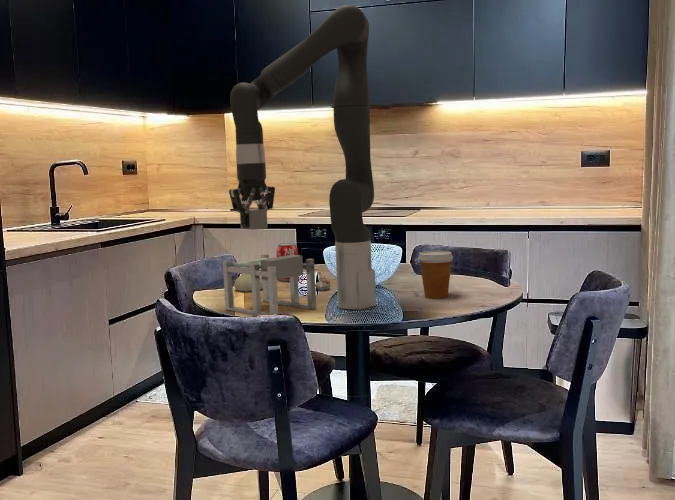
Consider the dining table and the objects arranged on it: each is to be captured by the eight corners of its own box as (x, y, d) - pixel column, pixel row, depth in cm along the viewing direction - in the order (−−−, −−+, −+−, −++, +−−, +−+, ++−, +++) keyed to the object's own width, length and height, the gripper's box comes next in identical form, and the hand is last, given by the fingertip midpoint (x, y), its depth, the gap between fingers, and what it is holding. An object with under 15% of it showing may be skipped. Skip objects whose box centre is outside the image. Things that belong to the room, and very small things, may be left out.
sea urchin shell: (267, 280, 212) (263, 265, 206) (265, 301, 207) (260, 286, 201) (239, 280, 213) (233, 265, 207) (235, 301, 208) (230, 287, 202)
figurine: (317, 287, 205) (316, 268, 204) (331, 287, 205) (331, 268, 203) (314, 293, 200) (313, 274, 199) (328, 293, 200) (328, 274, 198)
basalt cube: (267, 227, 179) (266, 209, 178) (252, 229, 175) (251, 210, 174) (255, 227, 182) (254, 208, 182) (240, 229, 179) (239, 210, 178)
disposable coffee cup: (440, 301, 179) (439, 256, 178) (411, 297, 186) (410, 253, 184) (460, 295, 186) (460, 251, 184) (432, 291, 192) (431, 249, 191)
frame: (316, 308, 176) (314, 259, 175) (274, 319, 166) (271, 266, 164) (267, 300, 190) (265, 254, 188) (225, 309, 179) (222, 261, 178)
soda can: (303, 278, 223) (301, 242, 221) (291, 282, 217) (289, 245, 215) (285, 277, 226) (284, 242, 225) (273, 281, 220) (271, 244, 219)
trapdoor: (303, 274, 175) (302, 255, 175) (272, 281, 168) (271, 261, 167) (265, 270, 186) (264, 252, 185) (234, 275, 178) (232, 257, 178)
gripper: (237, 162, 169) (241, 230, 171) (281, 160, 179) (284, 224, 181) (219, 163, 174) (223, 229, 176) (262, 161, 184) (266, 224, 186)
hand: (254, 226), depth 179 cm, fingers closed on basalt cube, 5 cm apart
